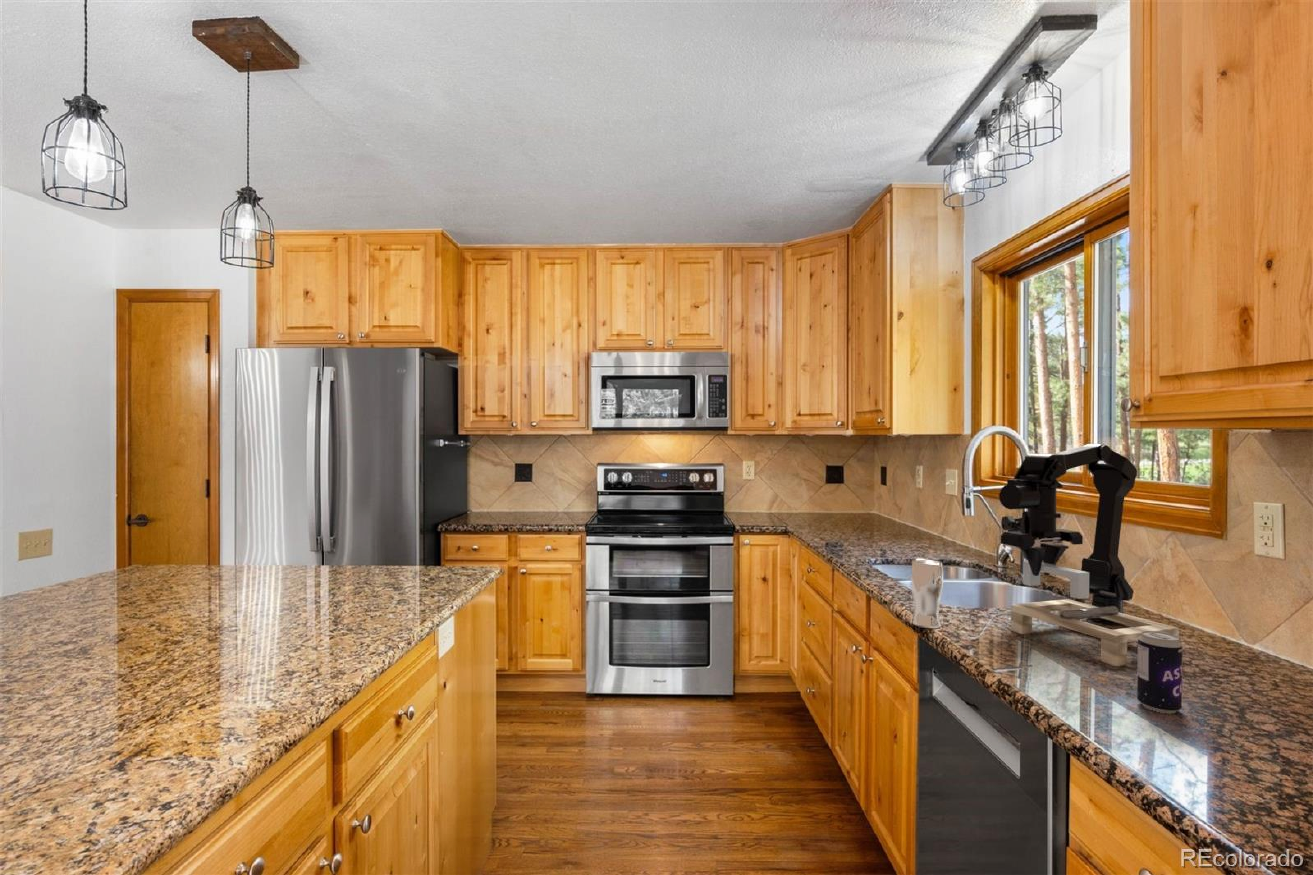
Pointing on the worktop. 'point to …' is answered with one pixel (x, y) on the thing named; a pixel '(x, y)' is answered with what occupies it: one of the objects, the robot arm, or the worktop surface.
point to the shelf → (1087, 626)
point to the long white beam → (1077, 577)
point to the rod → (1089, 612)
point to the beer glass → (927, 592)
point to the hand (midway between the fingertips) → (1041, 575)
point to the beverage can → (1159, 672)
